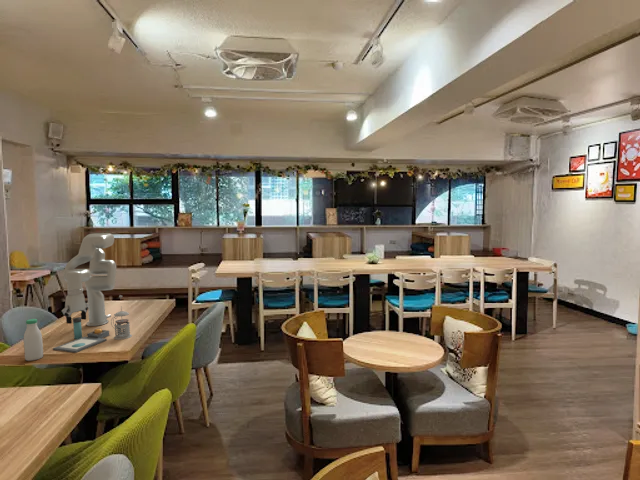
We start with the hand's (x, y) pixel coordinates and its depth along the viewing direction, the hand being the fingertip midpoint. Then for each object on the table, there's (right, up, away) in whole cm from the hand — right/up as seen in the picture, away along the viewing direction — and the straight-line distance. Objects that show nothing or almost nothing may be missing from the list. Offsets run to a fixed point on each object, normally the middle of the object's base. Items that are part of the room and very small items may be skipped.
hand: (76, 321), depth 235 cm
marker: (0, -10, +2) cm, 10 cm away
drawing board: (+9, -11, -11) cm, 18 cm away
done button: (+11, -9, +3) cm, 14 cm away
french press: (+25, -10, +3) cm, 27 cm away
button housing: (+11, -10, +3) cm, 15 cm away
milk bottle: (-4, -13, -30) cm, 33 cm away
